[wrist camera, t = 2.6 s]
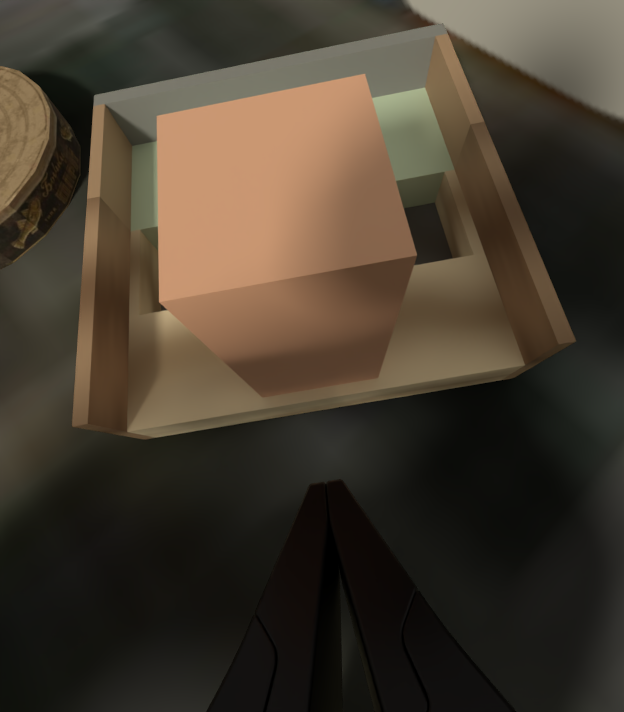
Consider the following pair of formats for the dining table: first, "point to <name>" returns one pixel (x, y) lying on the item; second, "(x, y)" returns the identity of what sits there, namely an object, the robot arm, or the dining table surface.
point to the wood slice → (32, 164)
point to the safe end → (370, 57)
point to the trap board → (396, 379)
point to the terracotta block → (284, 234)
